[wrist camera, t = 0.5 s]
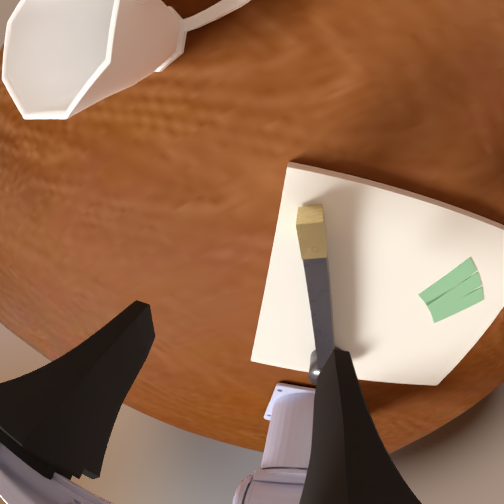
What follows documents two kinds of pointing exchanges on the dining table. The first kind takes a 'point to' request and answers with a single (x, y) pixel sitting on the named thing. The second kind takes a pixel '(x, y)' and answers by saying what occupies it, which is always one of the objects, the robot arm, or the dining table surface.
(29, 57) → the cup
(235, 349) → the dining table surface
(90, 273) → the dining table surface
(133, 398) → the dining table surface
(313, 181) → the board
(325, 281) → the lever
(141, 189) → the dining table surface
